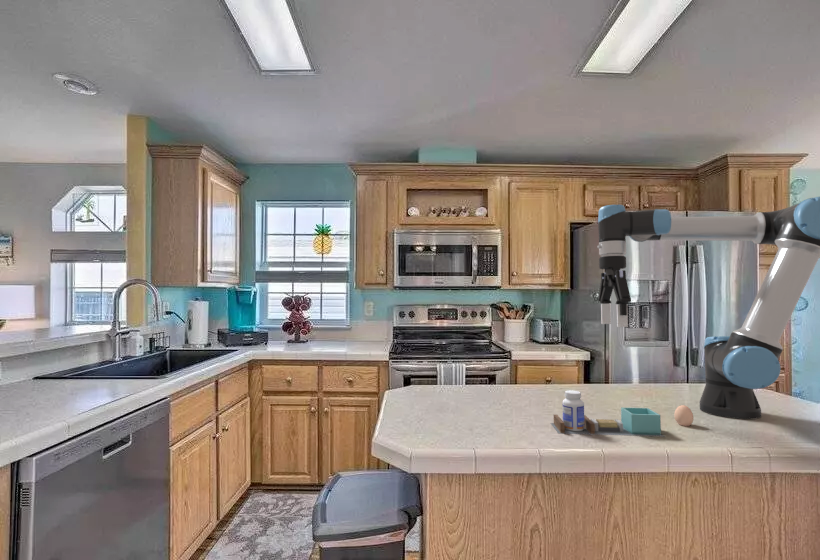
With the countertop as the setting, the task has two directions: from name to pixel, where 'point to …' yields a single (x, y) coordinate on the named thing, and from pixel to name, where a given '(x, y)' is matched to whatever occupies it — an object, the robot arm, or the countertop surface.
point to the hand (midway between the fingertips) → (613, 325)
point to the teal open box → (641, 421)
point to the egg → (683, 415)
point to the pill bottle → (573, 411)
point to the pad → (606, 423)
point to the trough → (561, 426)
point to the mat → (601, 432)
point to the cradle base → (609, 429)
